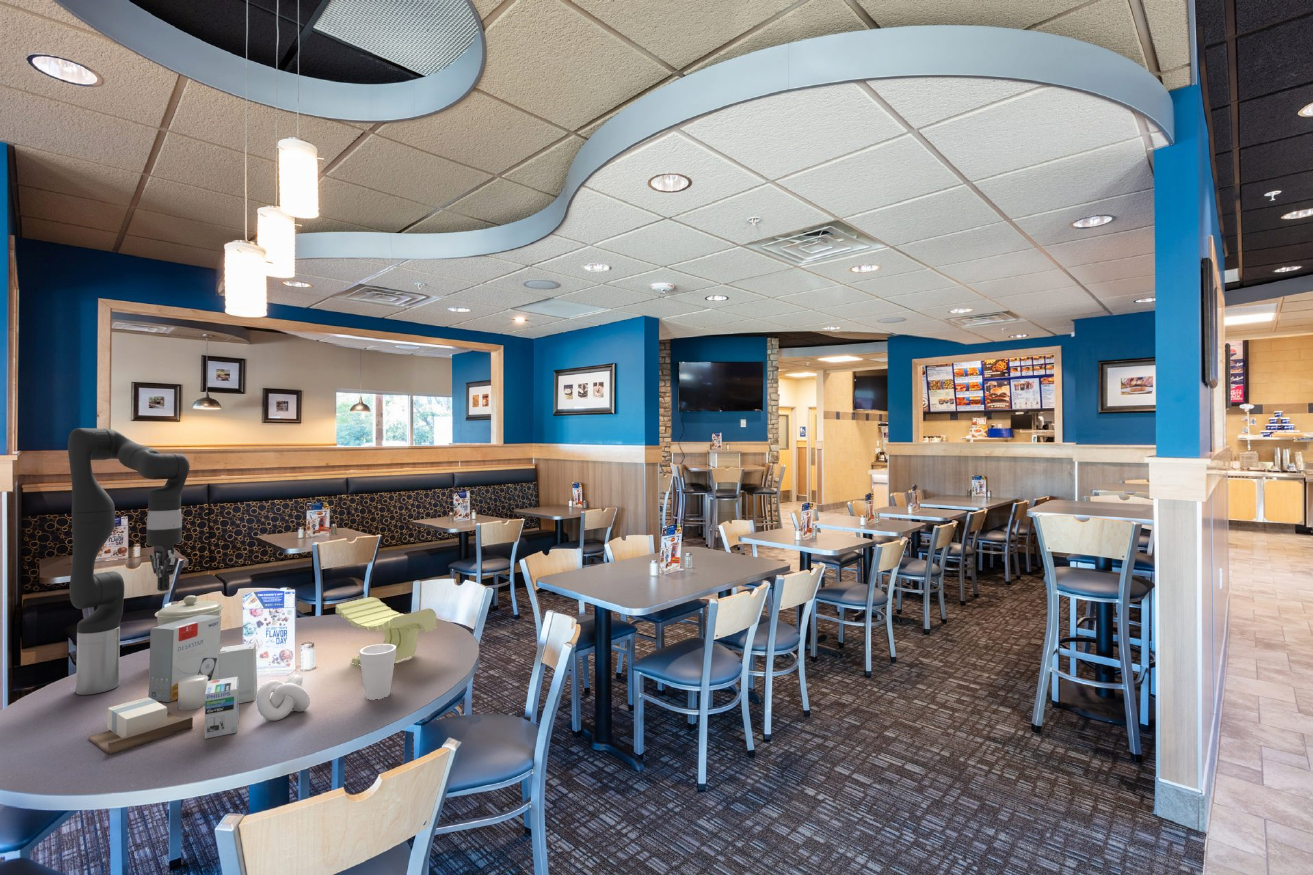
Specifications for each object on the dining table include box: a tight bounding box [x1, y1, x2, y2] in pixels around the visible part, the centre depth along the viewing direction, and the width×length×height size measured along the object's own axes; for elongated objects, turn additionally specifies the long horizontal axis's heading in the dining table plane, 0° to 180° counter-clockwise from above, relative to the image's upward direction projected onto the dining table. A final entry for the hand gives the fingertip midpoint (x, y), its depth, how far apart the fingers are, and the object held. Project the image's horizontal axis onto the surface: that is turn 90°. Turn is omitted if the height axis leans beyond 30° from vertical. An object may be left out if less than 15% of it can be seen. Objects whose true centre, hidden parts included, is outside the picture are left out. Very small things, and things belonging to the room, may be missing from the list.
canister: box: [154, 595, 224, 626], centre depth 203 cm, size 18×18×21 cm
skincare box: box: [218, 641, 258, 704], centre depth 170 cm, size 8×6×15 cm
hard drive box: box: [147, 615, 222, 703], centre depth 177 cm, size 16×8×20 cm, turn 168°
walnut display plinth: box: [88, 712, 194, 755], centre depth 150 cm, size 14×16×3 cm
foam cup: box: [358, 643, 396, 701], centre depth 174 cm, size 10×9×13 cm
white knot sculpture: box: [256, 674, 311, 722], centre depth 162 cm, size 11×12×9 cm
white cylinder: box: [177, 675, 208, 711], centre depth 167 cm, size 6×6×7 cm
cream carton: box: [107, 696, 168, 738], centre depth 152 cm, size 5×8×12 cm
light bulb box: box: [204, 677, 239, 740], centre depth 153 cm, size 11×7×11 cm, turn 33°
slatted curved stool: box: [335, 596, 437, 666], centre depth 203 cm, size 30×16×18 cm, turn 59°
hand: (163, 590), depth 168 cm, fingers closed
